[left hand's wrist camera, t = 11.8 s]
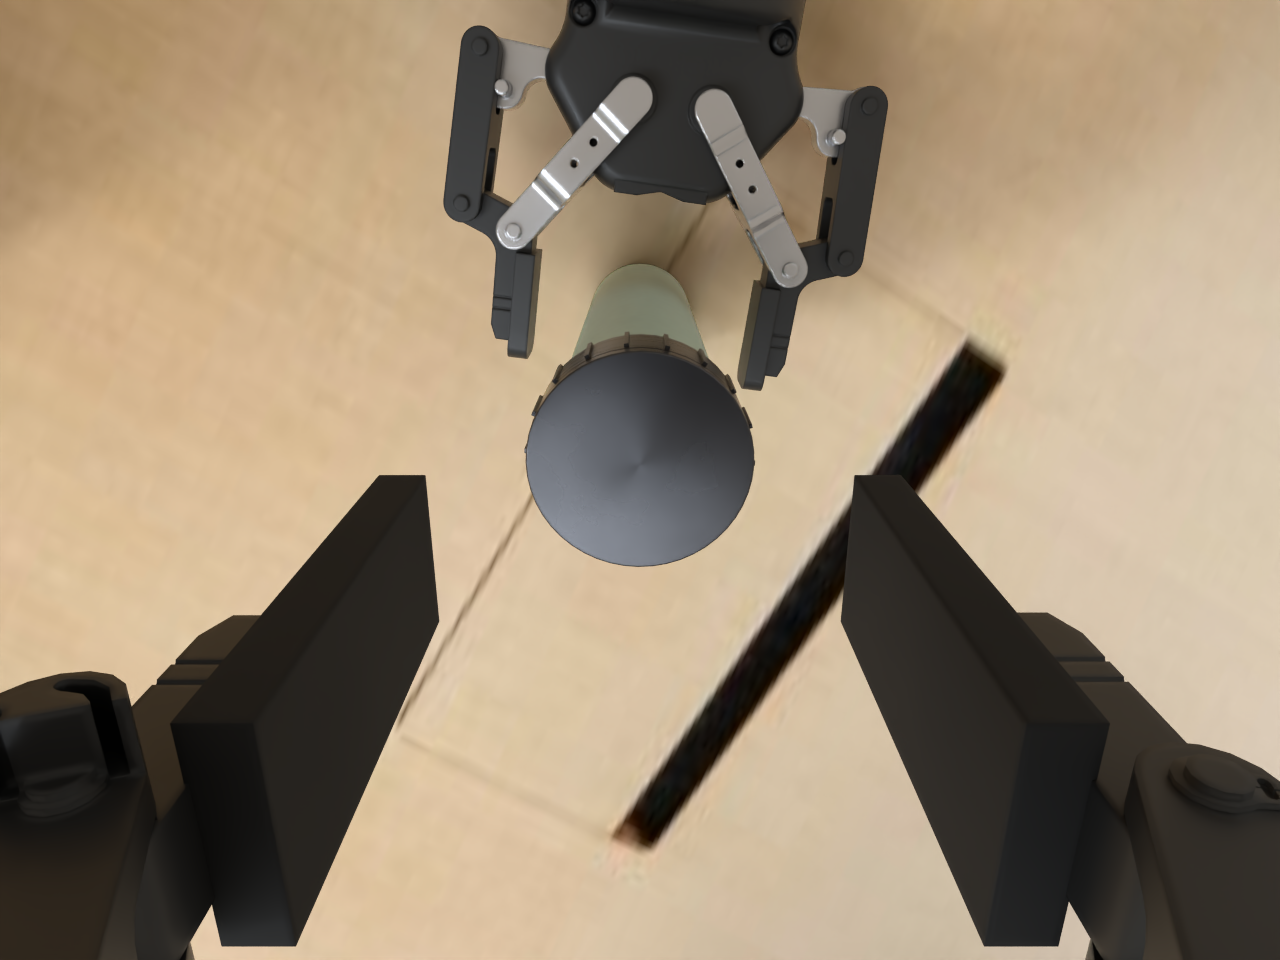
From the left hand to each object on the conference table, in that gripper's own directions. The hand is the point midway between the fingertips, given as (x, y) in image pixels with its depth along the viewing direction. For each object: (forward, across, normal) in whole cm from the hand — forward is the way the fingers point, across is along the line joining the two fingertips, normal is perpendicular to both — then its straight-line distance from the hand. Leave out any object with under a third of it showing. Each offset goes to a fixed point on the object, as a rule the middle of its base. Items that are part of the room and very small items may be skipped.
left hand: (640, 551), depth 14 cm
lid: (+5, 0, 0) cm, 5 cm away
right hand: (+18, 0, -1) cm, 18 cm away
